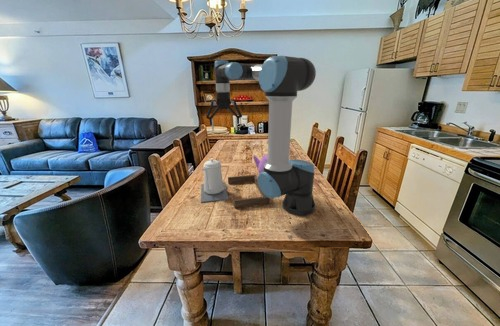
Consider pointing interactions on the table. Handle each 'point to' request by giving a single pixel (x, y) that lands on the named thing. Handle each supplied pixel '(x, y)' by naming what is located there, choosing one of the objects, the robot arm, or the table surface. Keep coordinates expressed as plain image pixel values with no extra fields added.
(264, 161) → the teapot
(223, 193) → the trivet
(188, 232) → the table surface
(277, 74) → the robot arm
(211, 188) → the coffeepot
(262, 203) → the bracket
